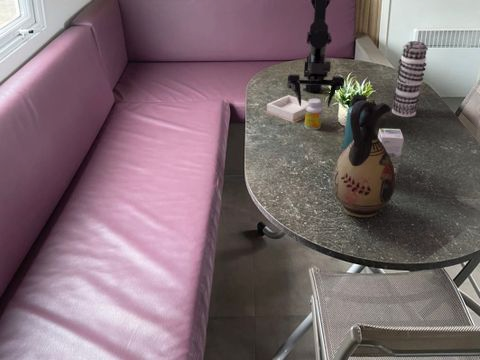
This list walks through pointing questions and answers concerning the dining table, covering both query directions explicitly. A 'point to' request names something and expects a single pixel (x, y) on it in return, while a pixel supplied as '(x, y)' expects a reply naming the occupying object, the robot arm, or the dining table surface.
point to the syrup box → (392, 145)
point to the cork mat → (286, 119)
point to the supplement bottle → (313, 114)
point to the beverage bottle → (348, 130)
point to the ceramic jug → (364, 165)
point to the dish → (288, 108)
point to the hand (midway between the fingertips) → (314, 106)
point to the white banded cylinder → (409, 79)
